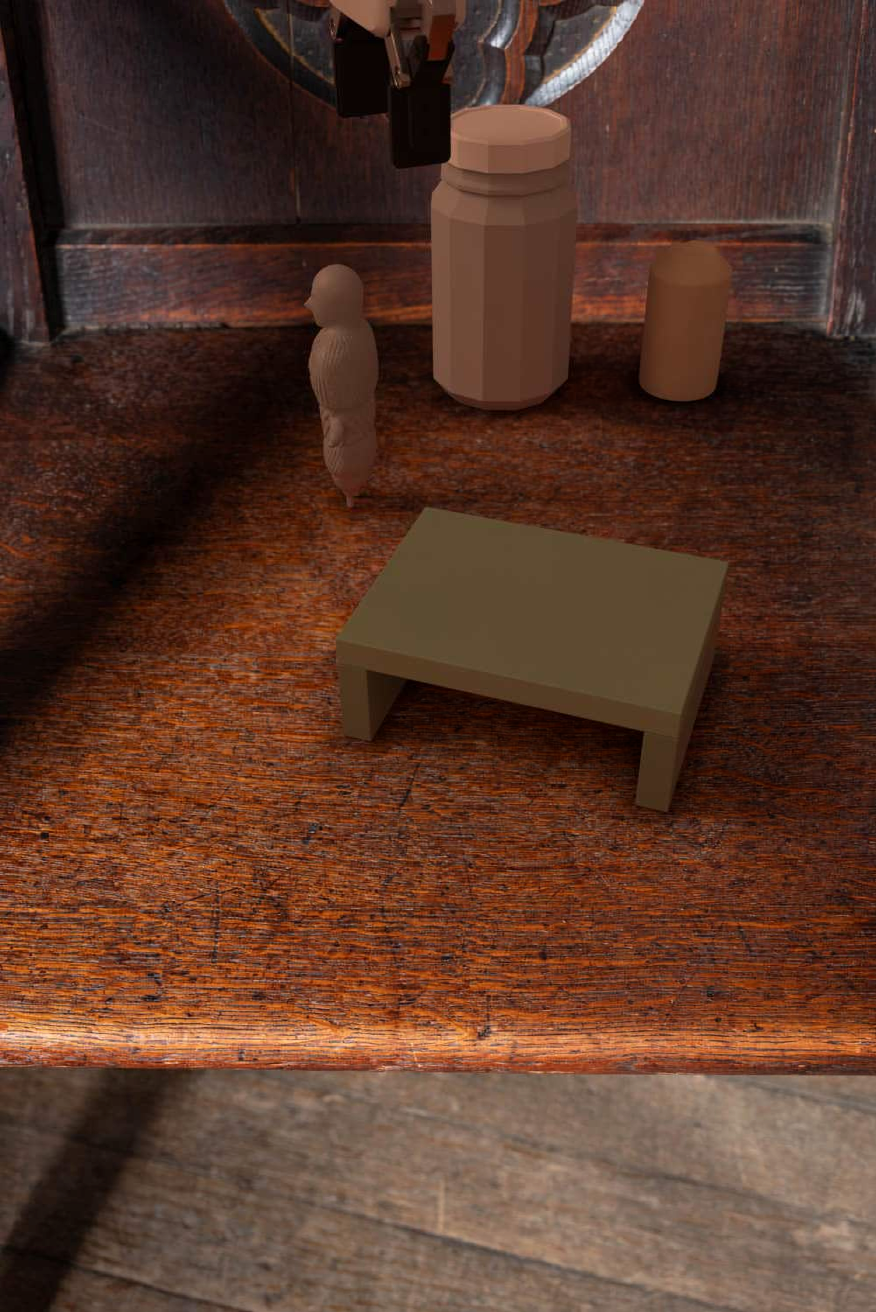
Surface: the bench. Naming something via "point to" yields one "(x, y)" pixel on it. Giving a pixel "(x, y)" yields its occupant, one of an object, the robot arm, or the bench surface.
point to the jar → (503, 257)
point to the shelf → (540, 631)
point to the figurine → (344, 377)
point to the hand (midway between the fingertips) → (390, 138)
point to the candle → (684, 321)
